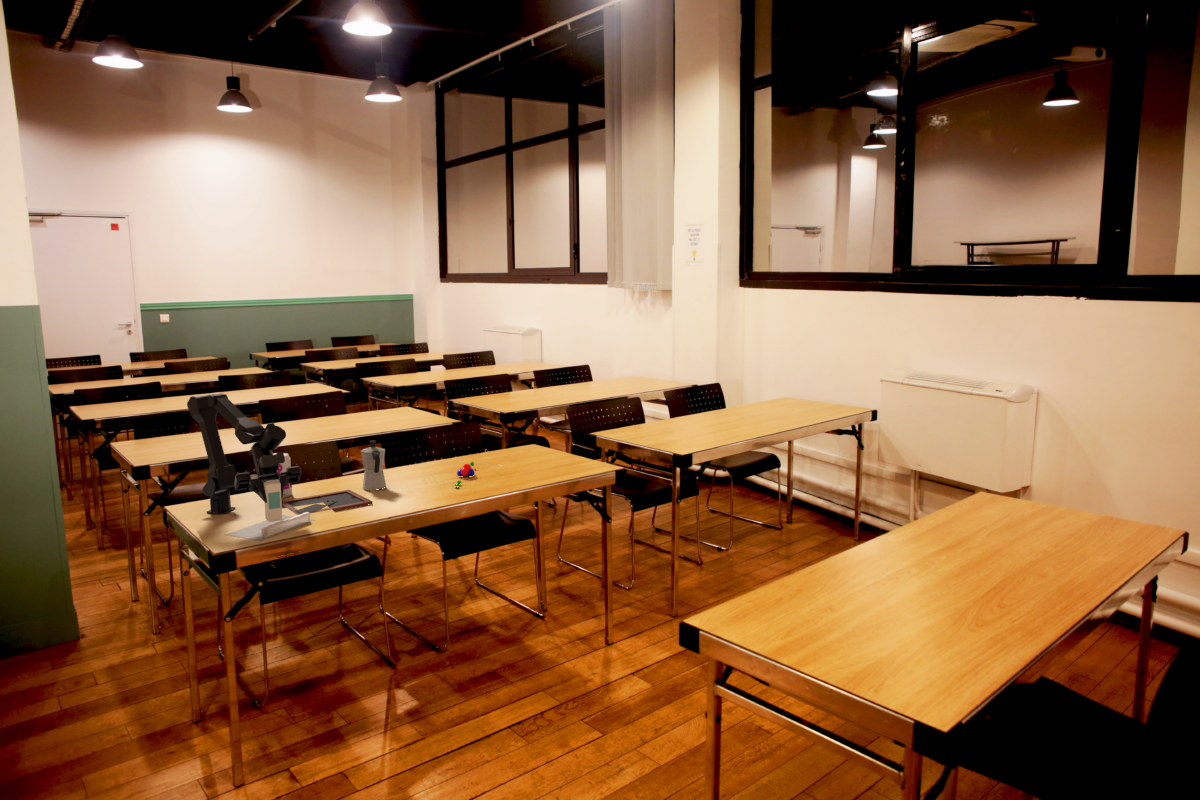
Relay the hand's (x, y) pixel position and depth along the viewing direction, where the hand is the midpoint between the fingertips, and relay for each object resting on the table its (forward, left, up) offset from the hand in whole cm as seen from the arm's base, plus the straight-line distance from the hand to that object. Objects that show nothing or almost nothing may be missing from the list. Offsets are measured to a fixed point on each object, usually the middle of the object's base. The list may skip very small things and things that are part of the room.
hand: (273, 501), depth 230 cm
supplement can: (-39, -19, -10) cm, 45 cm away
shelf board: (-1, -2, -10) cm, 10 cm away
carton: (-1, -1, -6) cm, 6 cm away
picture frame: (-30, +2, -10) cm, 32 cm away
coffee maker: (-52, +11, -10) cm, 54 cm away
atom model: (-73, +40, -10) cm, 84 cm away
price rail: (0, +4, -9) cm, 9 cm away
